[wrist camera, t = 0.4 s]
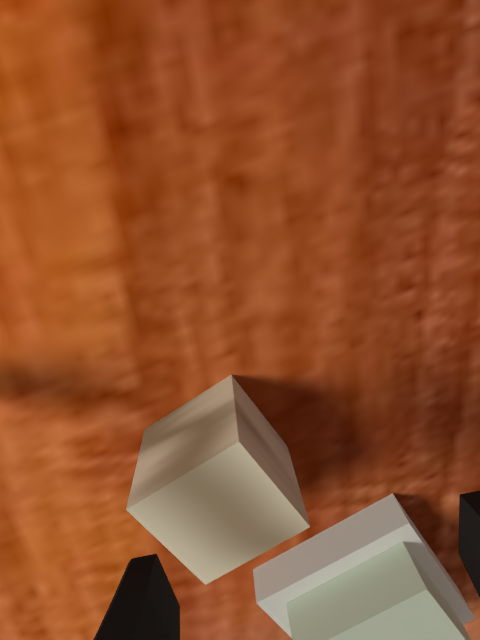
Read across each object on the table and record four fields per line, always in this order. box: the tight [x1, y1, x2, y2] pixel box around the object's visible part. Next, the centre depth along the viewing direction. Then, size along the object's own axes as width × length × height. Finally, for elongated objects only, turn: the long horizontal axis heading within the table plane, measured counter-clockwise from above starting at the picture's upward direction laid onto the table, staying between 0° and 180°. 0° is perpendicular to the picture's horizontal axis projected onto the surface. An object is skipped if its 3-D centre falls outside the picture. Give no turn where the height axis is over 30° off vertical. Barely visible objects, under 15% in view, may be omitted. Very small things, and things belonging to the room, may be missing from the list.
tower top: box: [286, 542, 471, 640], centre depth 22 cm, size 7×7×2 cm
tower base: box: [253, 493, 475, 638], centre depth 24 cm, size 9×9×2 cm
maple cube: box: [126, 375, 310, 585], centre depth 18 cm, size 5×5×5 cm
